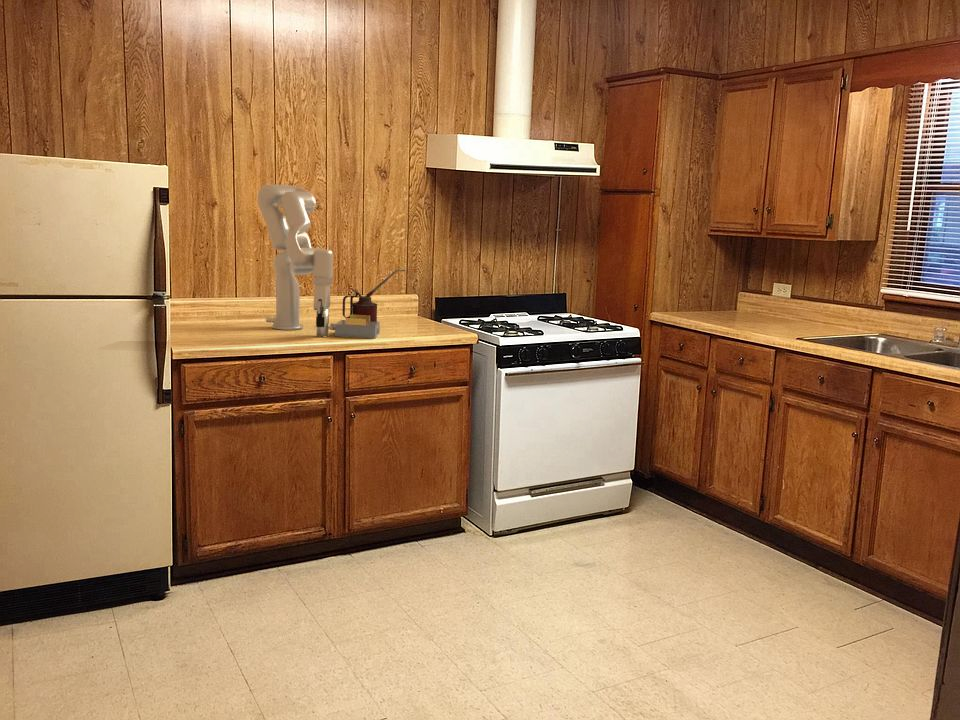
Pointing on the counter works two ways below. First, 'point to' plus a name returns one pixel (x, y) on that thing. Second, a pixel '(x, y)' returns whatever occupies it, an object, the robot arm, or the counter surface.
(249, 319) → the counter surface
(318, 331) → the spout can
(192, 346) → the counter surface
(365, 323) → the gearbox
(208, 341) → the counter surface
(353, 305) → the oil can
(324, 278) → the robot arm
